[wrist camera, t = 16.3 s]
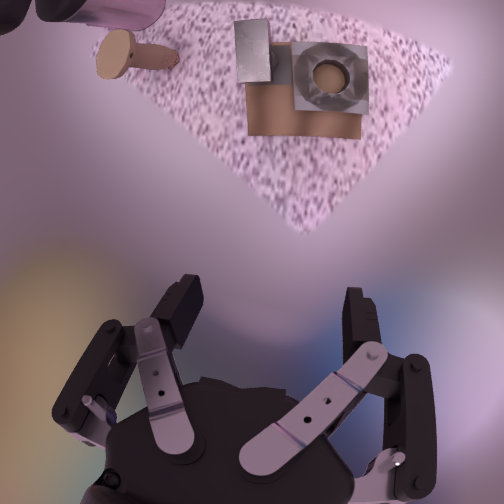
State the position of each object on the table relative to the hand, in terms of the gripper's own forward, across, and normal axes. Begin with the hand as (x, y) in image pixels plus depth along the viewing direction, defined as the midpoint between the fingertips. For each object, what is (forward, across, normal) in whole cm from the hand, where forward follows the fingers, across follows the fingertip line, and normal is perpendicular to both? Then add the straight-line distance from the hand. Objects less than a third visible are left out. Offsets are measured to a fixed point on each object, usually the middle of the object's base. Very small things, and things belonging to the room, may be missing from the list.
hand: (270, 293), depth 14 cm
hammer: (+28, +4, -15) cm, 32 cm away
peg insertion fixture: (+30, -1, -11) cm, 32 cm away
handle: (+30, +19, -18) cm, 40 cm away
